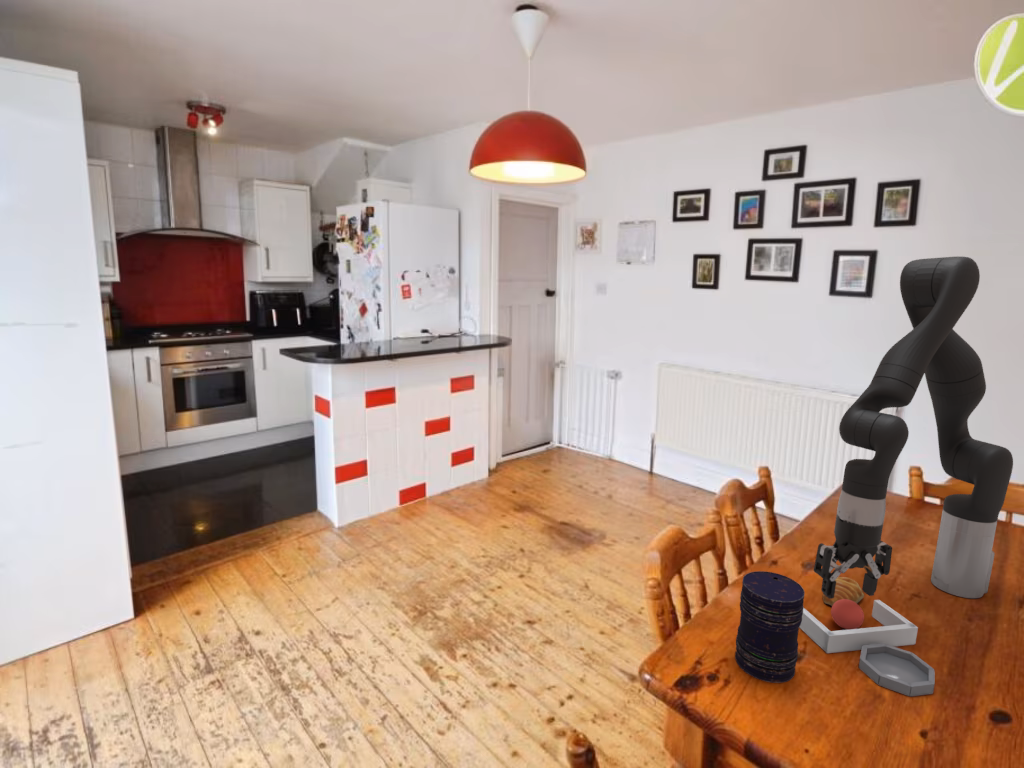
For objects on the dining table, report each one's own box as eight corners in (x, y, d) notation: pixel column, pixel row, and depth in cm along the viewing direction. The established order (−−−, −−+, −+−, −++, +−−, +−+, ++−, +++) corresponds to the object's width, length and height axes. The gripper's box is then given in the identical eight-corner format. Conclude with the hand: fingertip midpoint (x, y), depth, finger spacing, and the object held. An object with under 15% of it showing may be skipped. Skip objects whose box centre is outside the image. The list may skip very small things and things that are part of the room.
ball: (847, 617, 114) (851, 592, 113) (868, 634, 108) (872, 608, 107) (823, 619, 113) (826, 594, 112) (843, 637, 108) (846, 610, 107)
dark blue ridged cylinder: (791, 691, 93) (802, 609, 90) (729, 669, 98) (736, 590, 95) (798, 657, 102) (808, 581, 99) (740, 638, 107) (747, 565, 104)
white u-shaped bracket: (877, 615, 115) (879, 599, 114) (915, 644, 106) (918, 627, 105) (794, 623, 112) (796, 606, 111) (827, 653, 103) (829, 635, 102)
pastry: (848, 616, 115) (850, 598, 114) (813, 601, 120) (815, 585, 119) (864, 599, 121) (867, 583, 120) (830, 586, 126) (832, 570, 125)
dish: (897, 650, 104) (898, 641, 104) (949, 691, 94) (950, 682, 93) (845, 656, 102) (847, 647, 102) (892, 698, 92) (894, 688, 92)
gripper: (878, 506, 111) (866, 582, 114) (812, 509, 109) (801, 586, 112) (910, 522, 104) (896, 603, 107) (840, 525, 102) (827, 608, 105)
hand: (847, 595), depth 109 cm, fingers open, 8 cm apart
